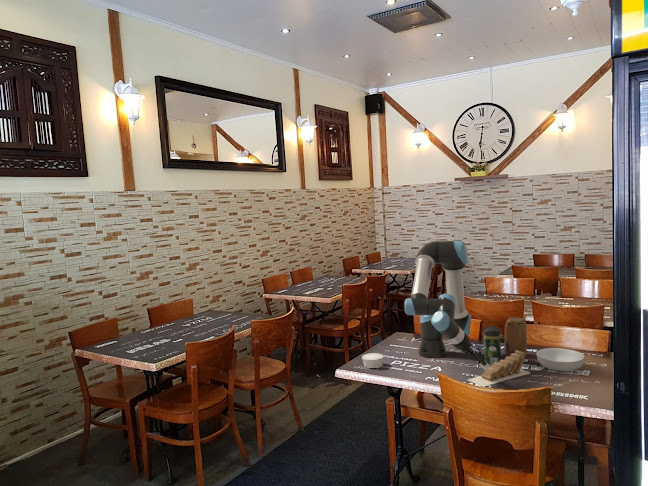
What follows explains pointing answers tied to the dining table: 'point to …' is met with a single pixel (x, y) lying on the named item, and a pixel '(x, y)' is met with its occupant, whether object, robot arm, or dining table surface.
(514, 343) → the block
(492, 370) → the domino
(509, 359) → the domino
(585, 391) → the dining table surface
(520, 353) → the domino
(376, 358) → the ramekin
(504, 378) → the domino board
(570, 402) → the dining table surface
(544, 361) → the serving bowl
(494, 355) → the coffee jar
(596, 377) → the dining table surface
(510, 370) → the domino
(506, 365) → the domino
